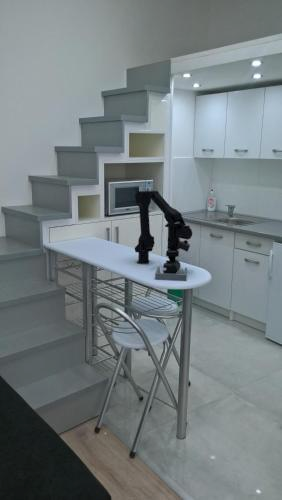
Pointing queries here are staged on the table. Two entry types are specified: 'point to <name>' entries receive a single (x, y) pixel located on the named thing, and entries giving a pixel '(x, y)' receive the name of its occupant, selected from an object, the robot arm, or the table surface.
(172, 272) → the end cap
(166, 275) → the bay
